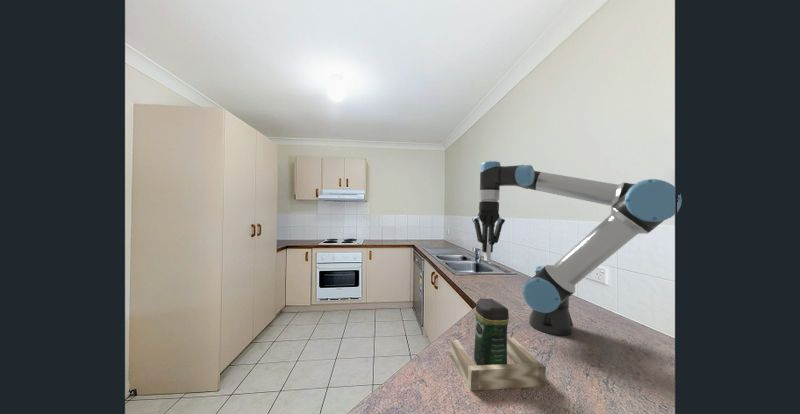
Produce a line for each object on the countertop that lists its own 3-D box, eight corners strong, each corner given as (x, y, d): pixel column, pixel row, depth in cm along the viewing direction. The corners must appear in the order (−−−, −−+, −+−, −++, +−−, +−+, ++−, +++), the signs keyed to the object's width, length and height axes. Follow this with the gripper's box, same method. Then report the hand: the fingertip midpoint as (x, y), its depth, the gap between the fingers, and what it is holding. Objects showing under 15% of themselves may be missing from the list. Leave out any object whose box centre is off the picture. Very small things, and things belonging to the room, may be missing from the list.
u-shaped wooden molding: (512, 353, 89) (512, 337, 89) (545, 386, 73) (545, 366, 73) (450, 356, 86) (450, 339, 86) (470, 390, 70) (471, 370, 70)
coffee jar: (511, 375, 77) (514, 307, 77) (484, 377, 76) (486, 307, 76) (494, 356, 87) (496, 295, 87) (470, 357, 86) (472, 296, 86)
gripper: (500, 201, 117) (498, 258, 118) (469, 200, 116) (467, 258, 116) (509, 201, 110) (507, 262, 110) (477, 200, 108) (475, 262, 108)
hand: (487, 260), depth 113 cm, fingers closed
